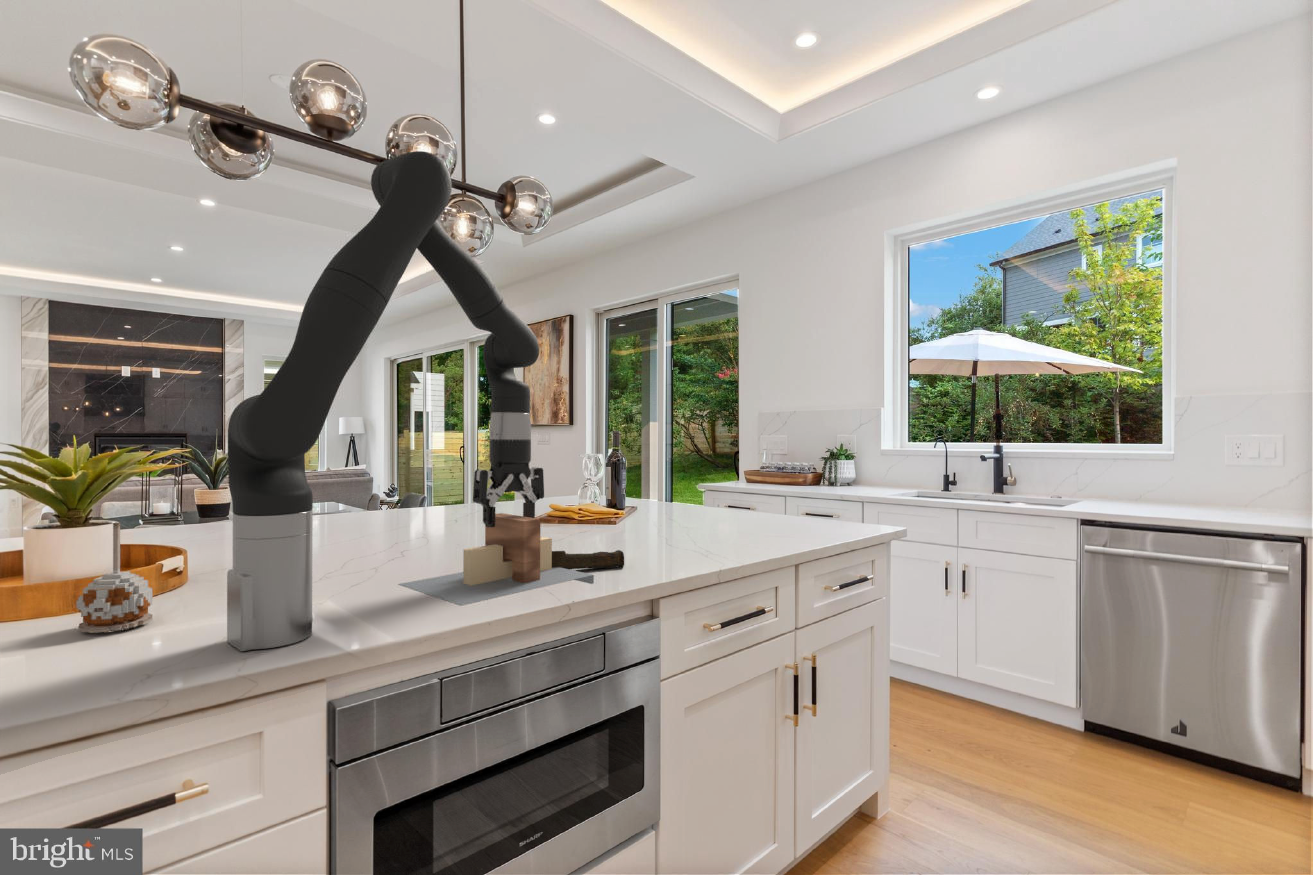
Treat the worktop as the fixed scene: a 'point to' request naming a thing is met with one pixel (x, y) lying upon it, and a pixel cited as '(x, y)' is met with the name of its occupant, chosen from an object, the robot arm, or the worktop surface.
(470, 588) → the slotted plate stand
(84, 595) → the decorative ornament
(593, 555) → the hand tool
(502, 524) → the mahogany slotted plate
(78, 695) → the worktop surface
